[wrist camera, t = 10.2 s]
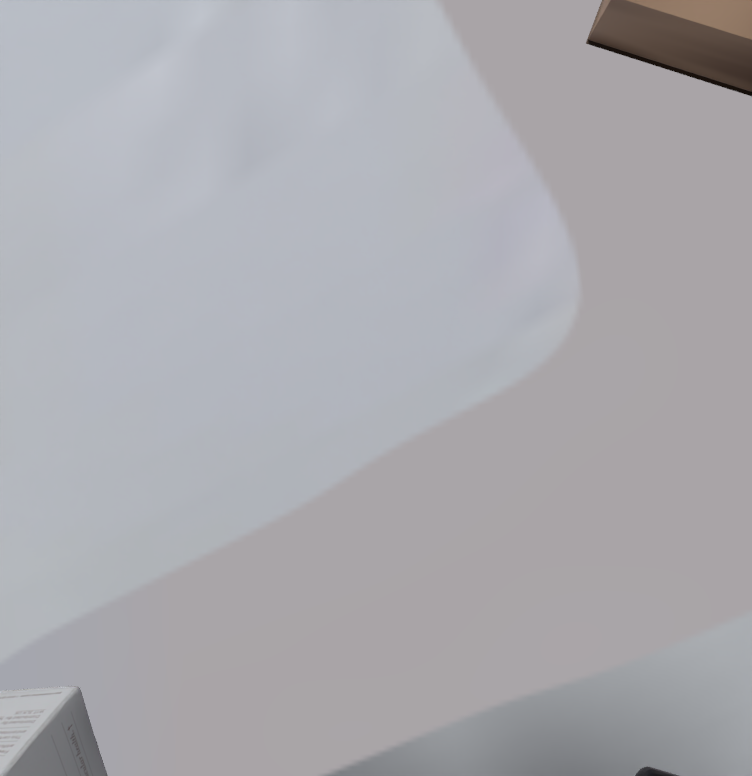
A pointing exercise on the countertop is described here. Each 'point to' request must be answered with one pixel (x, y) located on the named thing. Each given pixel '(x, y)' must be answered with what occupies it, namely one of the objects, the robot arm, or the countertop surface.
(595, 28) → the walnut block
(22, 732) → the supplement box
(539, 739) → the countertop surface
